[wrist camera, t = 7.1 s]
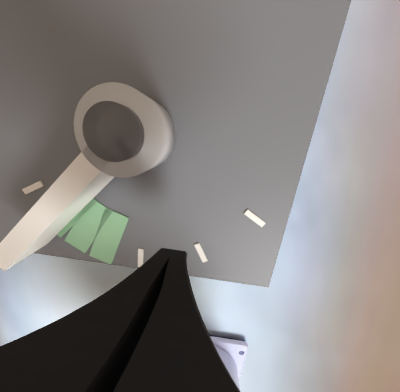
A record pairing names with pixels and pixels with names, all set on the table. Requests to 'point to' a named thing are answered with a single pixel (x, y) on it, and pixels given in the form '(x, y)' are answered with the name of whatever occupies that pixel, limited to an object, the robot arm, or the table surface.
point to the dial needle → (95, 162)
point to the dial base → (181, 115)
